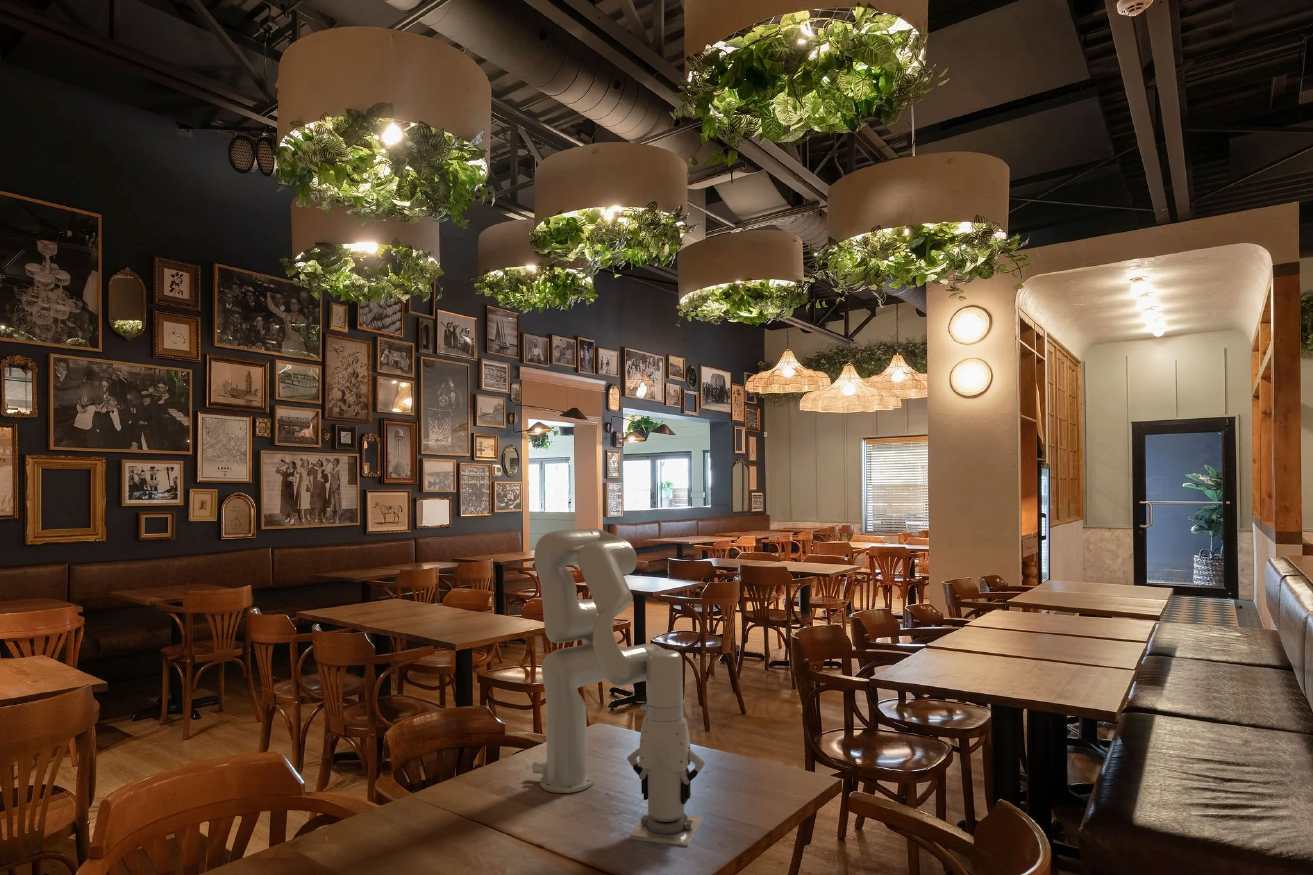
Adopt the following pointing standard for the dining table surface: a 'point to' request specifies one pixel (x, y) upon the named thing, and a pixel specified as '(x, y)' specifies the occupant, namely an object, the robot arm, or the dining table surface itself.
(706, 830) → the dining table surface
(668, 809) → the can
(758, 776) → the dining table surface
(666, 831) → the white flat square plate
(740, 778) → the dining table surface
